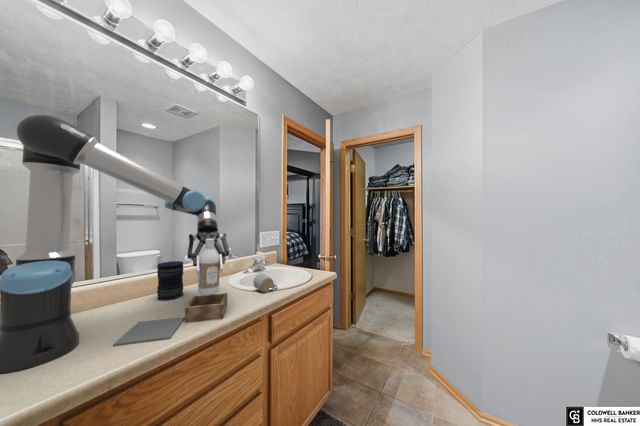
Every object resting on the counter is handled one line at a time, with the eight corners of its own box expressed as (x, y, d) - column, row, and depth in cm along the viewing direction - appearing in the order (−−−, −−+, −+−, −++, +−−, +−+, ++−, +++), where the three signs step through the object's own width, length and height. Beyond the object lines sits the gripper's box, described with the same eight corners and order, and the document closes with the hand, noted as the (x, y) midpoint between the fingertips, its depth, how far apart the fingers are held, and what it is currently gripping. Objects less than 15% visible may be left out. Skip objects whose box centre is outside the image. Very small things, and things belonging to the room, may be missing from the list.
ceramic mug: (260, 294, 104) (261, 277, 104) (252, 290, 110) (253, 274, 110) (280, 290, 111) (280, 274, 111) (272, 286, 117) (272, 271, 118)
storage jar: (159, 294, 104) (160, 262, 105) (184, 291, 109) (184, 260, 109) (154, 302, 95) (154, 266, 96) (181, 298, 100) (182, 264, 100)
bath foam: (201, 297, 80) (202, 240, 80) (195, 292, 85) (196, 238, 85) (221, 293, 84) (222, 239, 85) (215, 288, 89) (216, 237, 90)
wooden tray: (184, 322, 77) (184, 308, 77) (194, 308, 88) (194, 296, 88) (223, 318, 80) (223, 304, 80) (227, 305, 92) (227, 293, 92)
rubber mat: (113, 346, 63) (113, 344, 63) (138, 323, 77) (138, 321, 77) (170, 338, 67) (170, 337, 67) (185, 318, 80) (185, 316, 80)
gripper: (231, 230, 103) (237, 274, 89) (179, 231, 93) (177, 281, 79) (233, 219, 99) (240, 263, 84) (179, 218, 89) (177, 268, 74)
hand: (210, 271), depth 82 cm, fingers closed on bath foam, 7 cm apart
